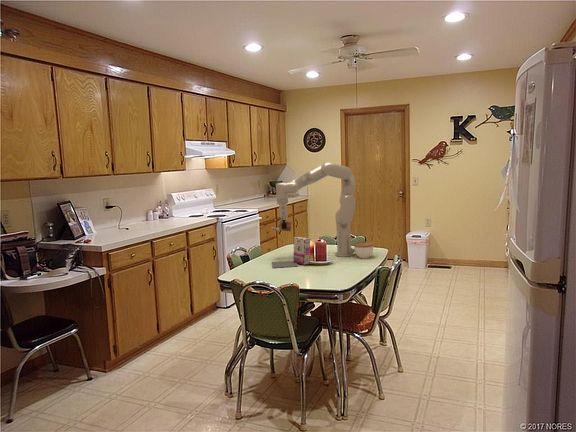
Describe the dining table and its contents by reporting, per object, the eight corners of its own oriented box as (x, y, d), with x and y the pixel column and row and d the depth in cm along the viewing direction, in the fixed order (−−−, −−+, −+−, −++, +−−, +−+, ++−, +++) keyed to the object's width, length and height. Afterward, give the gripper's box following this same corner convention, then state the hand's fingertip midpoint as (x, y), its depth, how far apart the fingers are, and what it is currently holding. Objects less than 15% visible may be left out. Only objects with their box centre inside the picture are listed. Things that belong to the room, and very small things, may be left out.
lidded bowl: (372, 254, 301) (372, 238, 299) (374, 259, 288) (374, 242, 287) (353, 255, 302) (353, 239, 301) (354, 259, 290) (354, 243, 288)
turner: (290, 230, 304) (291, 221, 303) (290, 231, 299) (291, 222, 298) (271, 228, 303) (272, 220, 303) (271, 229, 298) (272, 221, 298)
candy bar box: (309, 264, 284) (310, 238, 282) (303, 265, 281) (304, 239, 279) (298, 260, 293) (299, 236, 291) (292, 261, 290) (293, 236, 288)
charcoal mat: (295, 261, 294) (295, 260, 294) (297, 266, 279) (297, 265, 279) (271, 262, 293) (271, 262, 293) (272, 268, 279) (272, 267, 279)
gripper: (288, 202, 291) (290, 229, 293) (287, 199, 307) (289, 226, 309) (277, 202, 291) (279, 230, 293) (276, 200, 307) (278, 227, 309)
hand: (284, 228), depth 301 cm, fingers closed on turner, 2 cm apart
